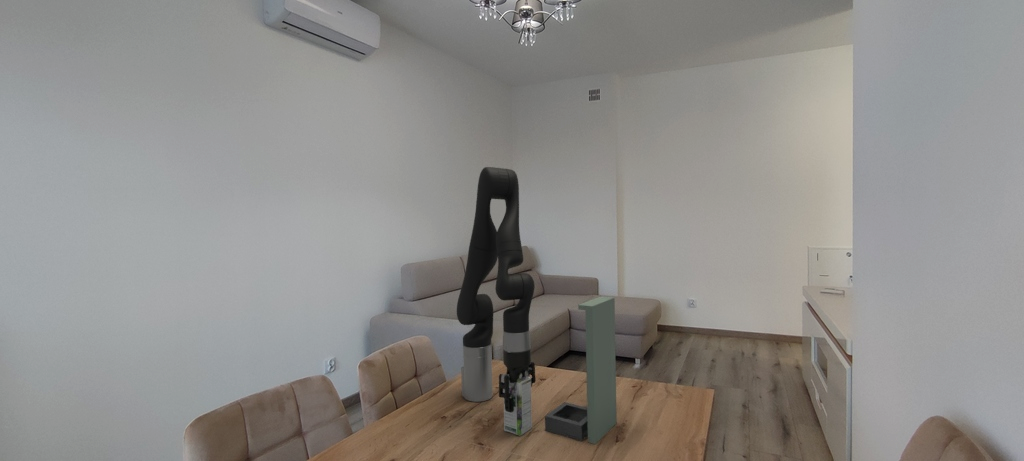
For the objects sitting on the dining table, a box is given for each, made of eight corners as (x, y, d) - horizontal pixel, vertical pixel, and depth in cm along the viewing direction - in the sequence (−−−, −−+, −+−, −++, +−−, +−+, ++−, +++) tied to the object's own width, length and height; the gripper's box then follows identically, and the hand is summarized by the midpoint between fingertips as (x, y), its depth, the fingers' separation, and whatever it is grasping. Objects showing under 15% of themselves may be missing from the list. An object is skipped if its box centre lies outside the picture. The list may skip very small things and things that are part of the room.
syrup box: (503, 431, 123) (501, 378, 123) (516, 423, 128) (514, 372, 128) (520, 436, 120) (518, 382, 119) (532, 428, 125) (531, 376, 124)
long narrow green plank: (580, 440, 117) (578, 304, 116) (603, 419, 129) (601, 296, 128) (595, 444, 115) (592, 306, 114) (616, 423, 126) (614, 297, 125)
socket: (545, 430, 123) (544, 416, 123) (564, 415, 132) (564, 402, 132) (581, 441, 117) (581, 426, 117) (599, 424, 126) (599, 410, 125)
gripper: (520, 339, 131) (521, 394, 132) (489, 351, 120) (491, 412, 120) (542, 342, 127) (543, 399, 127) (513, 355, 115) (515, 418, 116)
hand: (518, 405), depth 124 cm, fingers open, 8 cm apart
